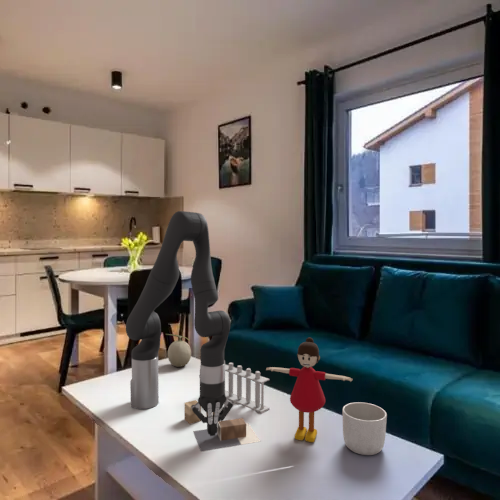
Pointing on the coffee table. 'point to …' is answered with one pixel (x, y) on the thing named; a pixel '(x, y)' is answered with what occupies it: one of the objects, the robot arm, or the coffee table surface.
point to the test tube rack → (249, 377)
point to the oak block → (191, 412)
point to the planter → (364, 428)
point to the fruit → (179, 352)
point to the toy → (307, 387)
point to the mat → (214, 441)
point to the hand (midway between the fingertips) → (212, 434)
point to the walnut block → (231, 429)
